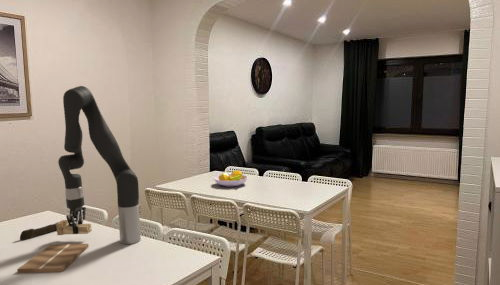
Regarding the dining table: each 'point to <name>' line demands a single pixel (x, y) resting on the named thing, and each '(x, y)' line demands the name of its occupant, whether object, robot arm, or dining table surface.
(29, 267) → the walnut board
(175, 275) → the dining table surface
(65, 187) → the robot arm
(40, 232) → the hand tool
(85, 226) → the marking gauge
